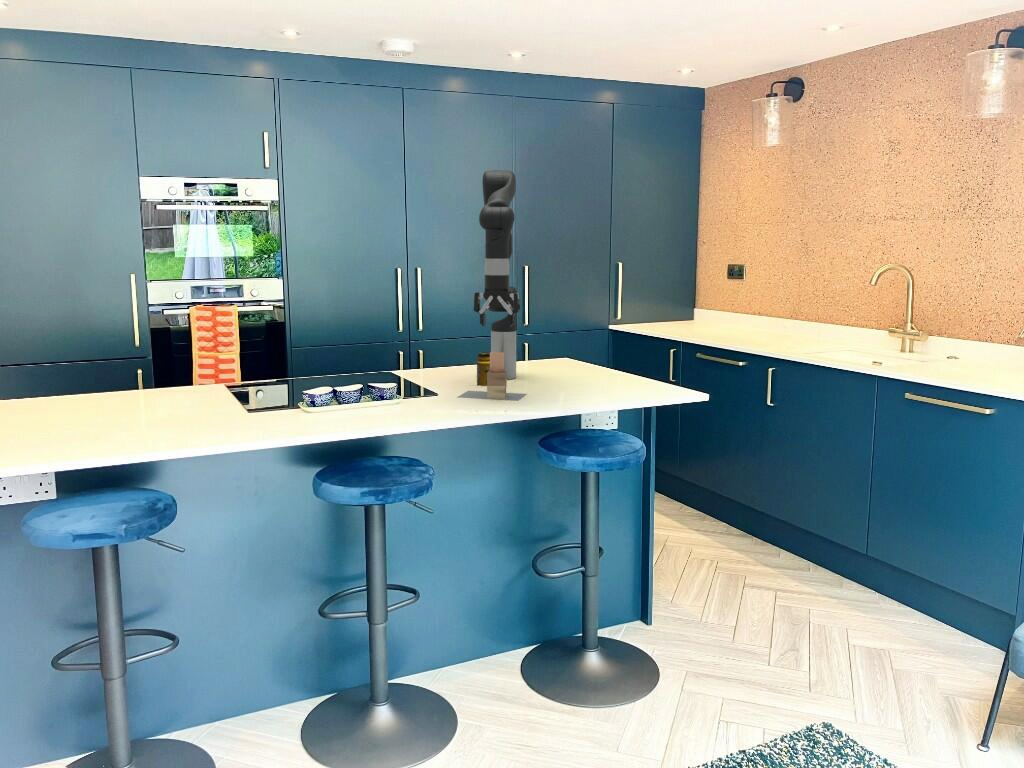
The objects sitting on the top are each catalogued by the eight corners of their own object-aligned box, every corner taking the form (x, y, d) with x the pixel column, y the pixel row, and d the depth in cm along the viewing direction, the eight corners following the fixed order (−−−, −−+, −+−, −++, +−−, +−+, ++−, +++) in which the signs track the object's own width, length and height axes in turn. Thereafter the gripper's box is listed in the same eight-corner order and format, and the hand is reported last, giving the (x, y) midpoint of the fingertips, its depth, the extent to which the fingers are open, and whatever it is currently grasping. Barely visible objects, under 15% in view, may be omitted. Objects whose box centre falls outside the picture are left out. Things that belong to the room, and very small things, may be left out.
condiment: (496, 389, 283) (496, 354, 281) (471, 390, 282) (471, 354, 280) (494, 385, 290) (494, 351, 288) (469, 386, 289) (469, 351, 287)
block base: (489, 395, 266) (489, 382, 265) (506, 395, 265) (506, 383, 265) (487, 398, 260) (487, 385, 260) (504, 398, 260) (504, 386, 259)
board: (468, 394, 274) (468, 390, 273) (527, 397, 268) (527, 393, 268) (456, 401, 262) (456, 397, 262) (518, 404, 257) (518, 400, 257)
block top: (489, 382, 265) (489, 370, 264) (506, 383, 265) (506, 370, 264) (487, 385, 260) (487, 373, 259) (504, 386, 259) (504, 373, 258)
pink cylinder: (492, 370, 264) (492, 351, 263) (505, 371, 263) (505, 352, 262) (488, 372, 260) (488, 353, 259) (501, 373, 259) (501, 353, 258)
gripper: (522, 273, 258) (522, 325, 261) (478, 272, 261) (478, 324, 264) (516, 274, 251) (516, 328, 253) (470, 273, 254) (471, 326, 257)
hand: (496, 326), depth 259 cm, fingers open, 8 cm apart
